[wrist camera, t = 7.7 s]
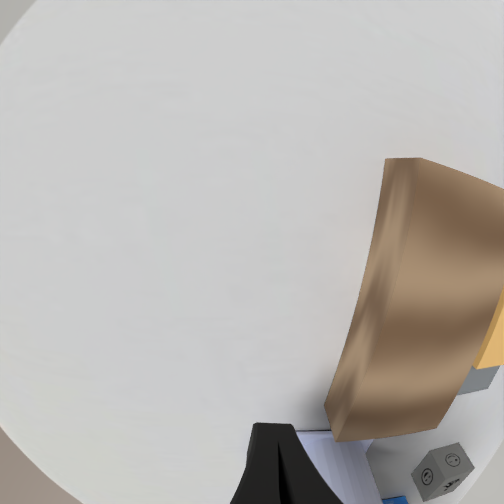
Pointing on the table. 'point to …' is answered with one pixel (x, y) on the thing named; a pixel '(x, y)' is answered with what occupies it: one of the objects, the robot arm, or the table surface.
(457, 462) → the dice cube
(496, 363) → the yellow orange block
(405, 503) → the ink box
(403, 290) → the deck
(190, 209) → the table surface
